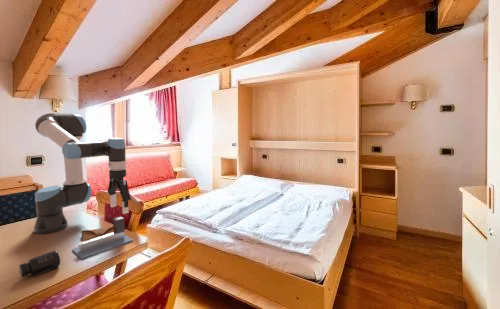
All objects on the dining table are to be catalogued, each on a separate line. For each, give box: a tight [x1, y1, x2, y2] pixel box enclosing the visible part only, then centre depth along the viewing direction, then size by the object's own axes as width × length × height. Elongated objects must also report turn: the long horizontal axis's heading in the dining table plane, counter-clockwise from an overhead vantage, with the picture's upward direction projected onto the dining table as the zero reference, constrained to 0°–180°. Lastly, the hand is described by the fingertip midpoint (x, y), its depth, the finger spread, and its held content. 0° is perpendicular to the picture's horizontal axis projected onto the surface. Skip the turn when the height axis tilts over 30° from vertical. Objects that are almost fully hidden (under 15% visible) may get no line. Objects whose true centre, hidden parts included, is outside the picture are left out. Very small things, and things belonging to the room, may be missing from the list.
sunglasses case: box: [80, 226, 114, 243], centre depth 137 cm, size 18×7×7 cm, turn 117°
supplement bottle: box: [18, 250, 61, 278], centre depth 103 cm, size 7×7×12 cm
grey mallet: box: [77, 216, 126, 253], centre depth 125 cm, size 4×20×11 cm, turn 141°
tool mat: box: [72, 234, 134, 260], centre depth 126 cm, size 12×23×1 cm, turn 141°
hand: (119, 210), depth 131 cm, fingers open, 13 cm apart
